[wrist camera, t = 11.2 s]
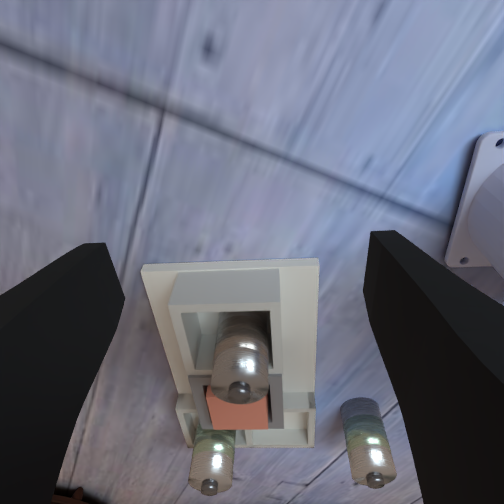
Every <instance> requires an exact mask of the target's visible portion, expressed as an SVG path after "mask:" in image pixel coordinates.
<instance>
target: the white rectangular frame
mask: <svg viewBox="0 0 504 504" xmlns="http://www.w3.org/2000/svg"><path fill="white" fill-rule="evenodd" d="M141 275H142V279H143V282H144V285H145V288H146V292H147V295H148V298H149V301H150V304H151V308H152V311H153V314H154V317H155V320H156V324H157V327H158V330H159V333H160V337H161V340H162V343H163V346H164V349H165V353H166V356H167V359H168V362H169V365H170V369H171V372H172V375H173V378H174V382H175V385H176V388H177V391H178V394H179V395H178V400H177V404H176V408H175V410H176V413H177V416H178V419H179V422H180V425H181V428H182V431H183V434H184V437H185V440H186V443H187V446H188V448H194V442H195V436H196V430H197V426H198V420H200V424H201V427H202V429H213V425H212V421H211V416H210V412H209V408H208V404H207V400H206V393H207V387H208V385H211V378H212V370H213V359H214V351H215V343H216V334H217V328H218V321H219V313H220V312H233V311H266V312H267V331H268V362H269V366H268V377H269V390H268V429H264V430H236V439H235V448H314V436H315V413H316V407H315V398H314V392H315V366H316V340H317V314H318V288H319V261H318V258H297V259H270V260H243V261H216V262H189V263H162V264H144V265H143V267H142V270H141Z"/></svg>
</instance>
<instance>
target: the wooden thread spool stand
mask: <svg viewBox="0 0 504 504" xmlns="http://www.w3.org/2000/svg"><path fill="white" fill-rule="evenodd" d="M82 497H83V488H82V487H79V488H78V489H77V490H76V491H75V492H74V494H73V496H72V498H69V497H65V496H60V495H54V494H53V497H52V500H51V504H89V503H86V502H83V501H82Z"/></svg>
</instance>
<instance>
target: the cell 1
mask: <svg viewBox="0 0 504 504" xmlns="http://www.w3.org/2000/svg"><path fill="white" fill-rule="evenodd" d="M235 439H236V430H214V429H202V427H201V424H200V420H198V426H197V430H196V436H195V442H194V448H193V454H192V462H191V468H190V474H189V480H188V482H189V484H190V486H191V487H193V488H194V489H197V490H199V491H201V493H202V494H204V495H207V496H213V495H216V494H217V493H218V492H223V491H226V490H228V489H230V488H231V486H232V476H233V464H234V453H235Z"/></svg>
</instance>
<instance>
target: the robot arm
mask: <svg viewBox="0 0 504 504" xmlns="http://www.w3.org/2000/svg"><path fill="white" fill-rule="evenodd" d="M502 138H503V142H502V143H501V144H500V145H499V146H496V143H497V141H498V140H500V139H502ZM465 257H466V258H465ZM462 258H465V259H464V260H461V259H462ZM460 260H461V261H460ZM445 262H446V264H447V265H448V266H449V267H453V268H454V267H484V266H493V267H494V268H495V270H496V271H497V272H498V273H499V274H500V276H501V277H502V278H503V279H504V131H493V132H487V133H484V134H483V135H481V136H480V138H479V139H478V141H477V143H476V146H475V150H474V154H473V157H472V161H471V165H470V168H469V172H468V175H467V179H466V183H465V186H464V190H463V193H462V197H461V201H460V204H459V208H458V212H457V215H456V219H455V222H454V226H453V230H452V233H451V237H450V240H449V244H448V248H447V251H446V255H445ZM363 293H364V298H365V303H366V308H367V313H368V317H369V321H370V325H371V328H372V331H373V333H374V336H375V339H376V342H377V345H378V347H379V350H380V353H381V356H382V358H383V361H384V364H385V367H386V369H387V372H388V375H389V378H390V380H391V383H392V386H393V389H394V391H395V394H396V397H397V400H398V403H399V406H400V409H401V413H402V416H403V420H404V423H405V427H406V431H407V435H408V439H409V443H410V447H411V451H412V455H413V459H414V464H415V468H416V472H417V476H418V481H419V485H420V489H421V494H422V498H423V502H424V504H504V306H503V305H501V304H500V303H498V302H496V301H495V300H493V299H491V298H490V297H488V296H487V295H485V294H484V293H482V292H480V291H479V290H477V289H476V288H474V287H473V286H471V285H470V284H468V283H467V282H465V281H464V280H462V279H461V278H459V277H458V276H456V275H455V274H454V273H452V272H451V271H449V270H448V269H446V268H445V267H444V266H442V265H441V264H440V263H438V262H437V261H436V260H434V259H433V258H431V257H430V256H429V255H427V254H426V253H425V252H423V251H422V250H421V249H420V248H418V247H417V246H416V245H414V244H413V243H412V242H410V241H409V240H408V239H406V238H405V237H404V236H402V235H401V234H399V233H398V232H396V231H395V230H389V231H371V233H370V241H369V248H368V256H367V264H366V271H365V279H364V287H363ZM124 301H125V296H124V293H123V291H122V288H121V285H120V282H119V280H118V277H117V274H116V271H115V268H114V266H113V263H112V260H111V257H110V255H109V252H108V249H107V246H106V243H85V244H82V245H80V246H78V247H76V248H75V249H73V250H71V251H69V252H68V253H66V254H65V255H63V256H61V257H60V258H58V259H57V260H55V261H53V262H52V263H50V264H49V265H47V266H46V267H44V268H43V269H41V270H40V271H38V272H37V273H35V274H33V275H32V276H30V277H29V278H27V279H26V280H24V281H23V282H21V283H20V284H18V285H16V286H15V287H13V288H12V289H10V290H8V291H7V292H5V293H3V294H2V295H0V504H51V500H52V497H53V493H54V490H55V487H56V483H57V480H58V477H59V473H60V470H61V467H62V463H63V460H64V457H65V454H66V451H67V448H68V445H69V442H70V439H71V436H72V433H73V430H74V427H75V424H76V421H77V418H78V416H79V413H80V411H81V408H82V406H83V403H84V401H85V399H86V396H87V394H88V392H89V390H90V388H91V385H92V383H93V381H94V379H95V377H96V374H97V372H98V370H99V368H100V366H101V363H102V361H103V359H104V357H105V355H106V352H107V350H108V348H109V346H110V343H111V341H112V339H113V336H114V334H115V332H116V329H117V326H118V323H119V320H120V316H121V313H122V309H123V305H124Z"/></svg>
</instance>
